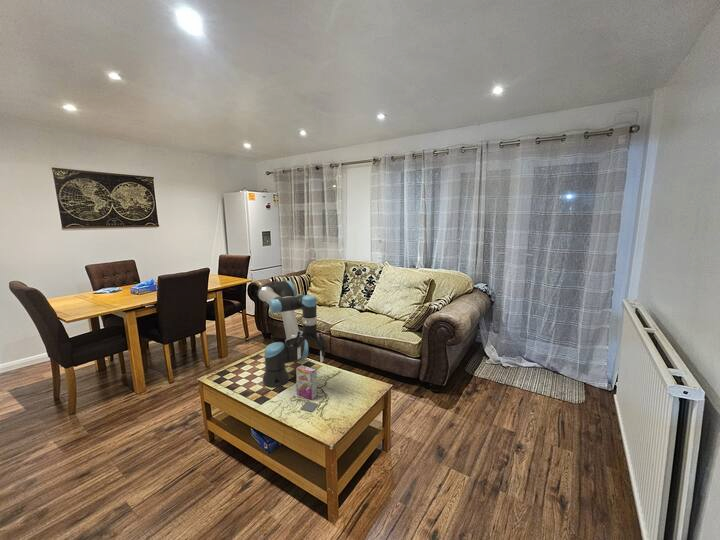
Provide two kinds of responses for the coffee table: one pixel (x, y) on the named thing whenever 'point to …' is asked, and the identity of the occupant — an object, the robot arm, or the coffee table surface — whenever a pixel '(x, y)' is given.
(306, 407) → the slate coaster
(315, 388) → the candy bar box
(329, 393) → the coffee table surface
